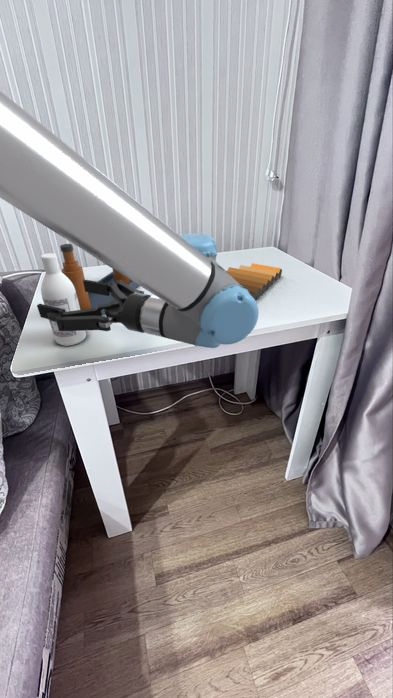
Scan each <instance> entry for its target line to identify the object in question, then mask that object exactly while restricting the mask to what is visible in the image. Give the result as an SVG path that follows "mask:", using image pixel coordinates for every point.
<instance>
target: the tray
mask: <svg viewBox="0 0 393 698" xmlns="http://www.w3.org/2000/svg"><path fill="white" fill-rule="evenodd" d="M97 282H101V283H107V284H110V283H115V281H114V275H113V271H111V272H110V273H108V274H106V275H105V276H103V277H102V278H101V279H99V280H98V281H97ZM128 285H130V286H131V287H133V288H135V289H137V288H138V287H140V286H139V285H138V284H136V283H135V282H133V281H132V280H131V281H130V283H128ZM88 296H89V300H90V305H91V308H96V307H97V306H98V305H102V304H107V303H109V302H110V301H111V300H113V299H114V298H113V296H111V292H110V295H109V296H105V295H100V294H95V293H90V292H88ZM102 315H104V316H106V315H105V312H104V309H103V310H102Z"/></svg>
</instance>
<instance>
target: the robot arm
mask: <svg viewBox="0 0 393 698" xmlns="http://www.w3.org/2000/svg"><path fill="white" fill-rule="evenodd" d="M0 199H2V200H3V201H5V202H7V203H8V204H10V205H11V206H12V207H14V208H16V209H17V210H19V211H21V212H22V213H23V214H26V215H27V216H29V217H30V218H32V219H33V220H35V221H37V222H38V223H39V224H41V225H43V226H44V227H46V228H48V229H49V230H51V231H52V232H54V233H55V234H57V235H59V236H60V237H62V238H63V239H65V240H67V241H68V242H70V244H72V245H74V246H76V247H78V248H79V249H80V250H82V251H84V252H86V253H87V254H88V255H90V256H92V257H94V259H97V260H98V261H100V262H101V263H103V264H104V265H106V266H108V267H109V268H111V269H112V268H113V269H114V270H116V271H117V272H119V273H120V274H122V275H124V276H125V277H127V278H128V279H130V280H132V281H133V282H135V283H136V284H138V285H139V286H138V287H141V288H142V289H144V290H146V291H147V292H149V293H150V294H146V293H145V291H143V290H140V289H137V288H136V289H135V288H133V287H131V286H130V285H128V284H126V283H125V282H123V281H121V280H118V281H116V282H117V283H116V284H115V283H110V284H107V283H101V282H98V281H95V280H89V279H85V280H83V284H84V288H85V292H90V293H95V294H100V295H105V296H109V295H110V292H111V296H113V298H114V299H113V300H111V301H110V302H109V303H107V304H102V305H98V306H97V307H96V308H90V309H83V310H76V311H68V312H66V311H65V309H61V308H57V307H52V306H48V305H44V303H38V304H37V305H36V307H37V311H38V312H39V317H40V318H42V319H47V320H48V321H49V320H50V321H54V322H56V323H57V326H58V329H59V331H83V330H85V331H103V332H109V331H111V330H112V329H111V325H112V324H122V325H123V326H124V327H125V328H126V329H127V330H129V331H133V332H136V333H137V332H138V333H142V334H147V335H151V336H156V337H161V338H164V339H168V340H172V341H175V342H180V343H185V344H188V345H193V346H194V347H202V348H209V349H216V348H218V347H220V346H221V345H226V346H227V345H234V344H237V343H238V342H241V341H243V340H244V339H246V338H247V337H248V336H249V335H250V334H251V333H252V331H254V329H255V327H256V326H257V323H258V321H259V315H260V313H259V312H260V311H259V306H258V303H257V300H255V299H254V298H253V297H252V296H251V295H250V294H249V291H248V290H247V289H245V288H244V287H243V286H241V285H240V284H239V283H238V282H237V281H236V280H235V279H234V278H232V277H231V276H230V275H229V274H228V273H227V272H226V271H227V270H226V269H224V268H223V267H222V265H220V264H219V263H218V262H217V256H218V253H217V244H216V241H215V238H214V237H212V236H210V235H207V234H203V233H185V234H178V233H177V232H176V231H175V230H173V228H171V227H170V226H168V225H167V224H166V223H165V222H163V221H162V220H161V219H160V218H159V217H157V216H156V215H155V214H154V213H153V212H151V211H150V210H148V208H147V207H145V206H144V205H142V204H141V203H140V202H139V201H138V200H136V199H135V198H134V197H132V196H131V195H130V194H129V193H128V192H126V190H124V189H123V188H121V187H120V186H119V185H118V184H116V183H115V182H114V181H113V180H112V179H110V178H109V177H108V176H107V175H105V174H104V173H103V172H102V171H100V169H98V168H97V167H95V165H93V164H92V163H90V162H89V161H88V160H87V159H85V158H84V157H83V156H82V155H80V154H79V153H78V151H76V150H74V149H73V148H72V147H71V146H69V145H68V144H67V143H66V142H64V141H63V140H62V139H61V138H59V137H58V136H57V135H56V134H54V133H53V132H52V131H50V129H48V128H47V126H45V125H43V124H42V123H41V122H40V121H38V120H37V119H36V118H35V117H34V116H32V115H31V114H30V113H28V111H26V110H25V109H23V107H21V106H20V105H19V104H17V103H16V102H15V101H14V100H12V99H11V98H10V97H8V96H7V95H6V93H4V92H2V91H1V90H0ZM113 269H112V270H113ZM151 294H152V295H151ZM103 309H104V312H105V315H102V310H103ZM50 321H49V322H50Z"/></svg>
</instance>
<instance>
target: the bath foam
mask: <svg viewBox="0 0 393 698" xmlns="http://www.w3.org/2000/svg"><path fill="white" fill-rule="evenodd" d="M40 259H41V263H42V267H43V269H44V272H45V274H44V276H43V279H42V282H41V285H40V293H41V298H42V301H43V305H48V306H52V307H57V308H61V309H65V311H66V312H68V311H76V310H80V306H79V302H78V298H77V294H76V290H75V288H74V286H73V284H72V282H71V281H70V280H69V279H68V278H67V277H66V276H65V275H64V274H63V273H62V272H61V268H60V264H59V261H58V257H57V254H56V253H54V252H53V253H52V252H48V253H44V254H42V255H40ZM48 322H49V324H50V327H51V330H52V334H53V336H54V337H53V338H54V340H55V342H56V343H57V344H58V345H60V346H64V347H65V346H75V345H77V344H79V343H82V342H83V341H84V340H85V339H86V338H87V332H86V331H87V330H83V331H59V329H58V326H57V323H56V322H54V321H50V320H49V319H48Z"/></svg>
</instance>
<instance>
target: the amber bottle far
mask: <svg viewBox="0 0 393 698" xmlns="http://www.w3.org/2000/svg"><path fill="white" fill-rule="evenodd" d="M111 269H112V272H113V275H114V281H115V284H116V283H117V282H116V281H118V280H121V281H123V282H125V283H126V284H128V283H130V281H131V280H130V279H128V278H127V277H125V276H124V275H122V274H120V273H119V272H117V271H116V270H114V269H113V268H111Z"/></svg>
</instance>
